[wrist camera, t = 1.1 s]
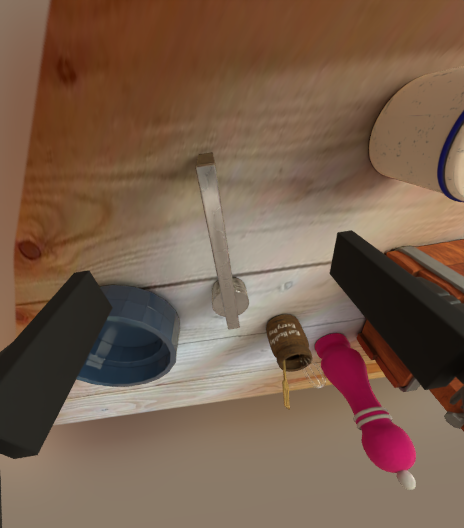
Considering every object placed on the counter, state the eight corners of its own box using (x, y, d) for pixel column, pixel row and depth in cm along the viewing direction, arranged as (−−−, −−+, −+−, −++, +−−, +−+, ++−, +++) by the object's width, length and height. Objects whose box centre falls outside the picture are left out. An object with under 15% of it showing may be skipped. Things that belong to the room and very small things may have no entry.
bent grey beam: (246, 299, 32) (255, 338, 26) (214, 304, 32) (216, 344, 26) (230, 149, 20) (240, 160, 15) (179, 156, 20) (169, 170, 14)
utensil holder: (303, 326, 37) (338, 399, 27) (272, 340, 39) (295, 414, 29) (290, 307, 34) (325, 383, 24) (257, 323, 36) (277, 401, 26)
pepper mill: (309, 355, 43) (372, 499, 27) (315, 333, 39) (395, 487, 22) (342, 351, 43) (425, 490, 27) (352, 329, 39) (457, 477, 23)
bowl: (45, 291, 27) (10, 328, 22) (163, 272, 28) (154, 305, 23) (102, 356, 36) (85, 393, 31) (190, 342, 37) (188, 376, 32)
